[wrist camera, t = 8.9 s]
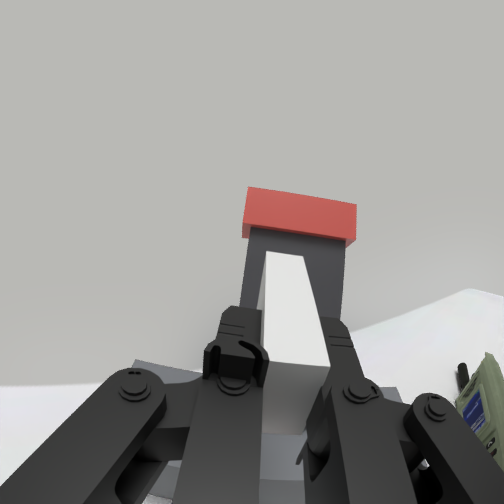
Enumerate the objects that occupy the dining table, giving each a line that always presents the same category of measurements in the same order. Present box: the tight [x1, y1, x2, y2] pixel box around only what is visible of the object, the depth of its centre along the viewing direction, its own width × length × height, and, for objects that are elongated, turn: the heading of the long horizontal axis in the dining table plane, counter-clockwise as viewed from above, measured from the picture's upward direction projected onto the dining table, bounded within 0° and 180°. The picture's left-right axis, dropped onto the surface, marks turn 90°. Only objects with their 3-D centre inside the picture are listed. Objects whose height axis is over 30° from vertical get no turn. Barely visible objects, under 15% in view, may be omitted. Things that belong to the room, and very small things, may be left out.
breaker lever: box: [239, 187, 356, 320], centre depth 18 cm, size 7×3×14 cm
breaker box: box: [131, 360, 427, 504], centre depth 18 cm, size 20×8×6 cm, turn 88°
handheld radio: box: [456, 352, 504, 472], centre depth 18 cm, size 7×3×25 cm
